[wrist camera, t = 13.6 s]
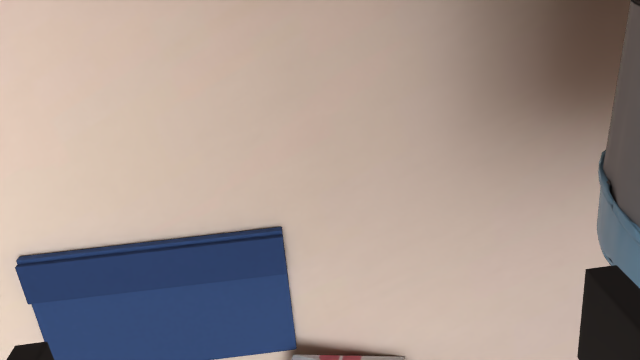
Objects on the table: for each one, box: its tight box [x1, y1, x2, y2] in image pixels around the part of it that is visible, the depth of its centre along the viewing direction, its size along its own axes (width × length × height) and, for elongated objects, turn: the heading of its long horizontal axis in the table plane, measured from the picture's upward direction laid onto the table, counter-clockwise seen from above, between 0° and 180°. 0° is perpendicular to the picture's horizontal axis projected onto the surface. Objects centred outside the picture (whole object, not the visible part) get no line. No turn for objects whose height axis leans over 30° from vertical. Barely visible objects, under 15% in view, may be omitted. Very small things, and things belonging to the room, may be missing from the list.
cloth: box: [15, 227, 297, 360], centre depth 44 cm, size 19×11×1 cm, turn 95°
